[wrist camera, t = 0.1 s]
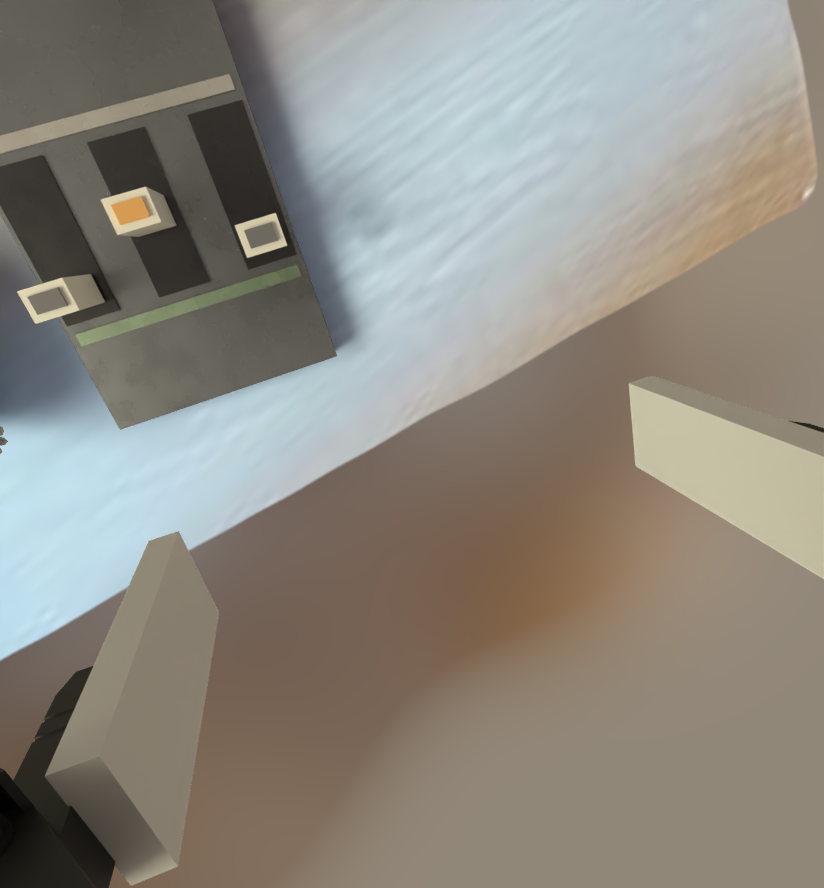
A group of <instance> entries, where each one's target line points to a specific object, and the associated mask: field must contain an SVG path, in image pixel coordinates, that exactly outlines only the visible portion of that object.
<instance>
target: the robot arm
mask: <svg viewBox="0 0 824 888" xmlns="http://www.w3.org/2000/svg"><path fill="white" fill-rule="evenodd" d="M629 392H630V404H631V415H632V428H633V440H634V452H635V465H636V466H637V467H638V468H640V469H642V470H643V471H645V472H647V473H648V474H650V475H652V476H653V477H655V478H657V479H658V480H660V481H661V482H663V483H665V484H666V485H668V486H670V487H671V488H673V489H675V490H676V491H678V492H680V493H682V494H683V495H685V496H686V497H688V498H690V499H691V500H693V501H695V502H697V503H698V504H700V505H701V506H703V507H705V508H706V509H708V510H710V511H711V512H713V513H715V514H717V515H718V516H720V517H721V518H723V519H725V520H726V521H728V522H730V523H731V524H733V525H735V526H736V527H738V528H740V529H741V530H743V531H745V532H746V533H748V534H750V535H751V536H753V537H755V538H756V539H758V540H760V541H761V542H763V543H765V544H767V545H768V546H770V547H772V548H773V549H775V550H776V551H778V552H780V553H781V554H783V555H785V556H786V557H788V558H790V559H791V560H793V561H795V562H796V563H798V564H800V565H801V566H803V567H805V568H806V569H808V570H810V571H811V572H813V573H815V574H816V575H818V576H820V577H821V578H823V579H824V428H821V427H818V426H815V425H811V424H807V423H799V422H793V421H786V420H783V419H781V418H778V417H774V416H772V415H769V414H766V413H762V412H759V411H757V410H754V409H750V408H748V407H745V406H742V405H739V404H735V403H732V402H729V401H727V400H724V399H721V398H718V397H714V396H712V395H709V394H705V393H703V392H700V391H697V390H694V389H691V388H687V387H685V386H681V385H678V384H675V383H672V382H669V381H667V380H663V379H661V378H657V377H655V376H649V377H646V378H643V379H640V380H637V381H634V382H631V383H629ZM218 616H219V612H218V610H217V608H216V606H215V604H214V602H213V600H212V598H211V596H210V594H209V591H208V590H207V587H206V585H205V583H204V581H203V579H202V577H201V575H200V573H199V571H198V569H197V568H196V565H195V563H194V561H193V559H192V557H191V555H190V553H189V551H188V549H187V547H186V545H185V543H184V541H183V539H182V537H181V535H180V533H179V531H178V532H175V533H172V534H169V535H166V536H163V537H160V538H157V539H154V540H151V541H149V542H148V544H147V547H146V549H145V551H144V553H143V556H142V558H141V560H140V562H139V565H138V567H137V569H136V571H135V574H134V576H133V578H132V580H131V583H130V585H129V587H128V589H127V592H126V594H125V596H124V599H123V601H122V603H121V605H120V607H119V610H118V612H117V614H116V617H115V619H114V621H113V623H112V625H111V628H110V630H109V632H108V635H107V637H106V639H105V641H104V644H103V646H102V648H101V650H100V653H99V655H98V657H97V660H96V662H95V664H94V666H92V667H89V668H86V669H83V670H80V671H77V672H76V673H75V674H74V675H73V676H72V677H71V679H70V680H69V681H68V682H67V683H66V684H65V685H64V687H63V688H62V689H61V690H60V691H59V692H58V693H57V695H56V696H55V698H54V700H53V702H52V704H51V706H50V708H49V710H48V712H47V714H46V716H45V718H44V719H45V722H44V723H42V724H41V726H40V728H39V730H38V732H37V734H36V736H35V742H33V743H32V744H31V746H30V748H29V750H28V752H27V754H26V756H25V758H24V760H23V762H22V764H21V766H20V768H19V770H18V772H17V774H16V776H15V778H14V780H12V779H11V778H10V776H9V775H8V774H7V773H6V772H5V770H3V769H1V768H0V888H109V884H110V880H111V877H112V873H113V869H114V866H116V868H117V869H118V870H119V871H120V873H121V874H122V875H123V876H124V878H125V879H126V880H127V881H128V883H129V884H130V885H134V884H136V883H139V882H141V881H144V880H146V879H148V878H151V877H153V876H156V875H158V874H161V873H163V872H166V871H168V870H170V869H173V868H175V867H178V863H179V857H180V850H181V844H182V838H183V832H184V826H185V819H186V813H187V807H188V801H189V795H190V789H191V782H192V776H193V770H194V764H195V758H196V751H197V745H198V739H199V733H200V727H201V721H202V715H203V709H204V702H205V695H206V690H207V684H208V678H209V672H210V665H211V659H212V653H213V647H214V641H215V635H216V628H217V622H218Z"/></svg>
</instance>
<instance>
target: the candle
mask: <svg viewBox="0 0 824 888" xmlns="http://www.w3.org/2000/svg"><path fill="white" fill-rule="evenodd" d="M3 432H4V430H3V428H2V427H1V426H0V436H1V435H3ZM7 442H8V441H7V440H6V439H5V438H2V437H0V445H5V444H6V443H7ZM1 453H2V450H1V449H0V454H1Z"/></svg>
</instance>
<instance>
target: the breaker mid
mask: <svg viewBox="0 0 824 888" xmlns="http://www.w3.org/2000/svg"><path fill="white" fill-rule="evenodd" d="M101 202H102V204H103V206H104V208H105V210H106V212H107V214H108V216H109V218H110V221H111V223H112V225H113V227H114V229H115V231H116V233H117V235H123V236H134V237H140V236H144V235H147V234H150V233H154V232H157V231H160V230H164V229H167V228H170V227H174V226H177V225H176V223H175V221H174V218H173V216H172V214H171V211H170V209H169V207H168V204H167V202H166V200H165V197H164V195H162V194H160V193H158V192H156V191H154V190H152V189H150V188H148V187H142V188H139V189H135V190H132V191H128V192H125V193H122V194H118V195H115V196H111V197H108V198H104V199H101Z"/></svg>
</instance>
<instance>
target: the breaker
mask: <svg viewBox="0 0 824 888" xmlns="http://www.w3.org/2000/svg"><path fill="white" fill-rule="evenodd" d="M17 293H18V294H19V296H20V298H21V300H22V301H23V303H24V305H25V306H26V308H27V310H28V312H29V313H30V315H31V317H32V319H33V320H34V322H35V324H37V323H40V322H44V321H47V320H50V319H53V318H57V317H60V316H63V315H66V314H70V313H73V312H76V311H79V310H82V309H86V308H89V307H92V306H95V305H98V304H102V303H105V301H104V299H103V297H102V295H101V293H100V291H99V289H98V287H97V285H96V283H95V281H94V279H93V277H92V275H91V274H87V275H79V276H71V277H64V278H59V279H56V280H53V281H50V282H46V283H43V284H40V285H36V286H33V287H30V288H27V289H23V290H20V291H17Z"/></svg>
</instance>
